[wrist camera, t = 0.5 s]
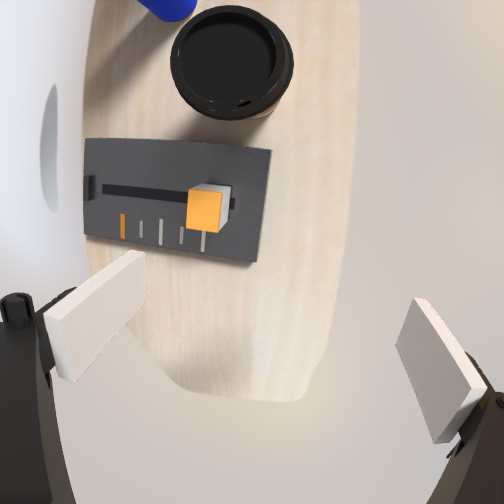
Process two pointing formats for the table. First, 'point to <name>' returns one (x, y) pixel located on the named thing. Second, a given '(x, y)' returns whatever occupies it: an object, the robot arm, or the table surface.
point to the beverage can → (170, 8)
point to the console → (173, 193)
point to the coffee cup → (231, 63)
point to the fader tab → (208, 207)
